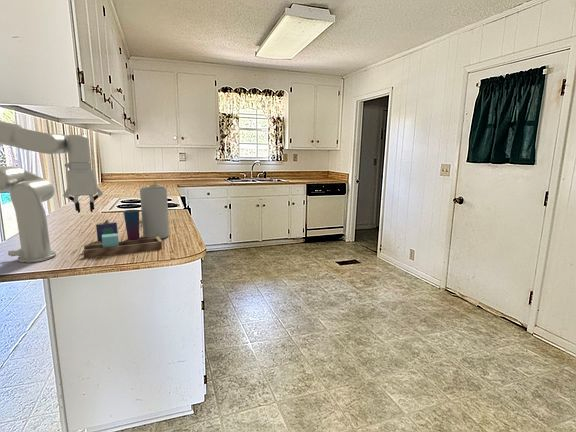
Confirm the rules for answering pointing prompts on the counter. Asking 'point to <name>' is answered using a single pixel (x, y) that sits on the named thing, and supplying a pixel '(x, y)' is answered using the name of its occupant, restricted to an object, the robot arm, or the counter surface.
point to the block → (110, 240)
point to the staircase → (156, 185)
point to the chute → (122, 247)
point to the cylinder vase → (154, 212)
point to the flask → (106, 229)
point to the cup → (132, 224)
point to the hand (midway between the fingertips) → (85, 211)
